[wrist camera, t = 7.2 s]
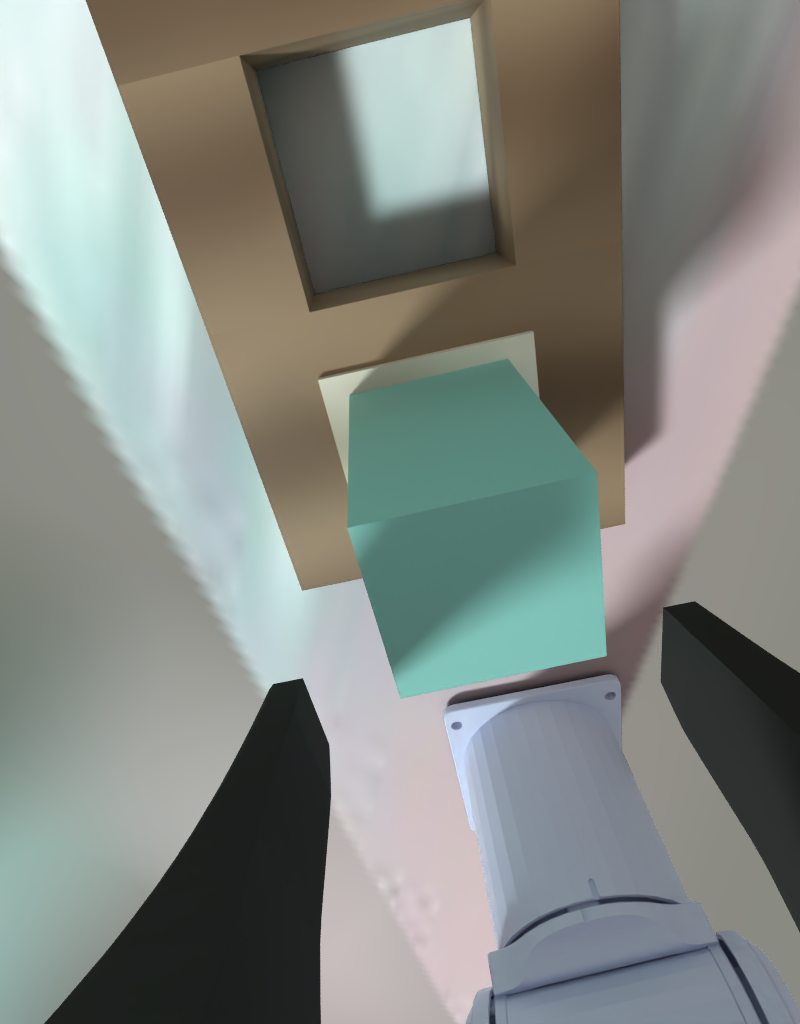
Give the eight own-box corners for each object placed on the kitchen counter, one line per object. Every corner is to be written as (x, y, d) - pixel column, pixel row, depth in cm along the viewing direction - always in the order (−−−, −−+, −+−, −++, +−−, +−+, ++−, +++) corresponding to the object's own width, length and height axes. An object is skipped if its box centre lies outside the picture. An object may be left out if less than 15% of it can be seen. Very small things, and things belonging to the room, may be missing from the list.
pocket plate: (598, 488, 22) (627, 527, 20) (306, 549, 22) (301, 594, 20) (576, -107, 14) (621, -161, 11) (120, 9, 14) (75, -21, 12)
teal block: (524, 497, 19) (606, 656, 13) (385, 528, 19) (400, 698, 13) (507, 358, 16) (597, 472, 10) (349, 395, 17) (347, 528, 11)
